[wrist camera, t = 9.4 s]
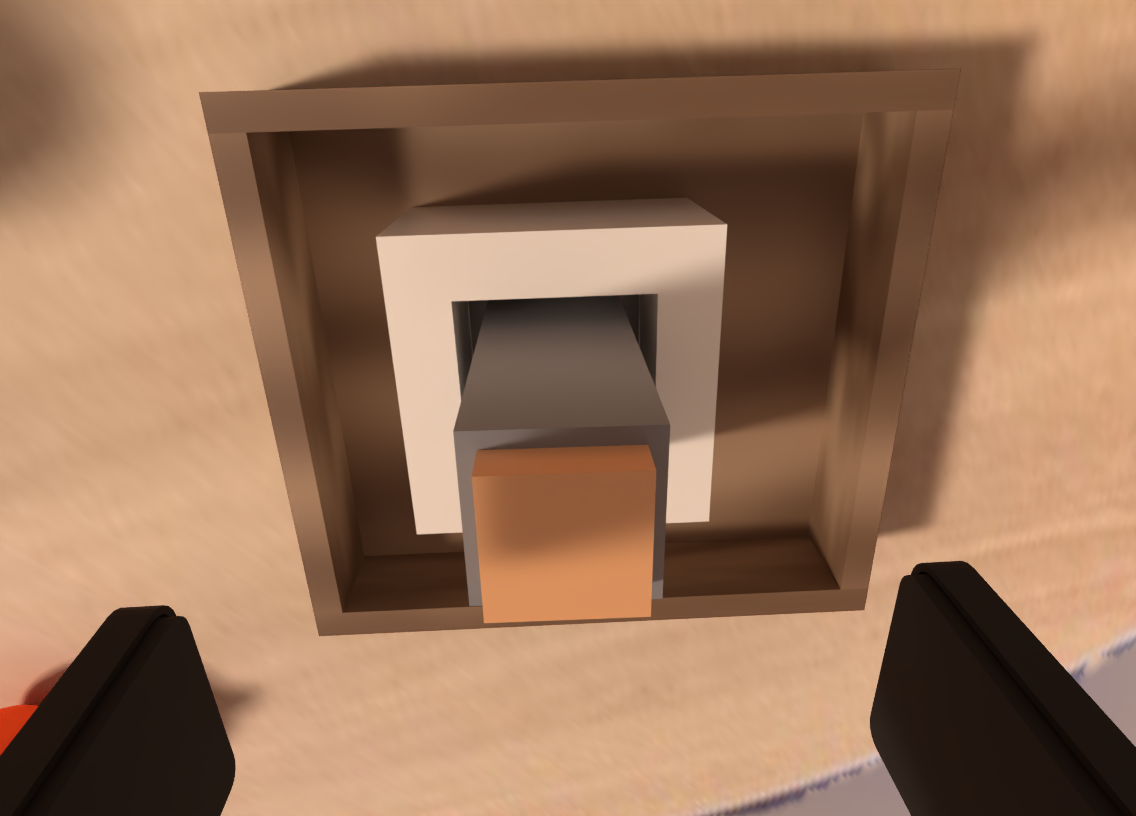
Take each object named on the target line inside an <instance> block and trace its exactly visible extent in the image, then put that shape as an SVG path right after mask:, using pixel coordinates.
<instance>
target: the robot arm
mask: <svg viewBox="0 0 1136 816" xmlns="http://www.w3.org/2000/svg"><path fill="white" fill-rule="evenodd" d="M870 729H871V734H872V738H873V741H874V744H875V746H876V748H877V750H878V752H879V754H880V756H881V758H882V760H883V762H884V764H885V766H886V768H887V770H888V772H889V774H890V775H891V777H892V779H893V781H894V783H895V785H896V787H897V789H898V791H899V793H900V795H901V797H902V799H903V801H904V803H905V804H906V806H907V808H908V810H909V812H910V814H911V816H1136V747H1135V746H1134V745H1133V744H1132V743H1131V741H1130V740H1129V739H1128V738H1127V737H1126V736H1125V735H1124V734H1123V733H1122V731H1121V730H1120V729H1119V728H1118V727H1117V726H1116V725H1115V724H1114V723H1113V722H1112V721H1111V719H1110V718H1109V717H1108V716H1107V715H1106V714H1105V713H1104V712H1103V710H1102V709H1101V708H1100V707H1099V706H1098V705H1097V704H1096V703H1095V702H1094V701H1093V699H1092V698H1091V697H1090V696H1089V695H1088V694H1087V693H1086V692H1085V691H1084V690H1083V688H1082V687H1081V686H1080V685H1079V684H1078V683H1077V682H1076V681H1075V680H1074V678H1073V677H1072V676H1071V675H1070V674H1069V673H1068V672H1067V671H1066V670H1065V668H1064V667H1063V666H1062V665H1061V664H1060V663H1059V662H1058V661H1057V660H1056V659H1055V657H1054V656H1053V655H1052V654H1051V653H1050V652H1049V651H1048V650H1047V649H1046V647H1045V646H1044V645H1043V644H1042V643H1041V642H1040V641H1039V640H1038V639H1037V638H1036V636H1035V635H1034V634H1033V633H1032V632H1031V631H1030V630H1029V629H1028V628H1027V626H1026V625H1025V624H1024V623H1023V622H1022V621H1021V620H1020V619H1019V618H1018V617H1017V615H1016V614H1015V613H1014V612H1013V611H1012V610H1011V609H1010V608H1009V607H1008V605H1007V604H1006V603H1005V602H1004V601H1003V600H1002V599H1001V598H1000V597H999V596H998V594H997V593H996V592H995V591H994V590H993V589H992V588H991V587H990V586H989V584H988V583H987V582H986V581H985V580H984V579H983V578H982V577H981V576H980V575H979V573H978V572H977V571H976V570H975V569H974V568H973V567H972V566H971V565H969V564H968V563H966V562H963V561H951V562H933V563H921V564H917V565H916V566H915V567H914V568H913V571H912V573H911V575H906V576H904V577H903V578H902V580H901V582H900V586H899V590H898V595H897V599H896V604H895V608H894V613H893V617H892V622H891V626H890V630H889V635H888V639H887V644H886V648H885V653H884V657H883V662H882V666H881V671H880V675H879V680H878V684H877V689H876V693H875V698H874V702H873V707H872V711H871V716H870ZM234 777H235V758H234V754H233V751H232V748H231V746H230V743H229V740H228V737H227V734H226V731H225V728H224V725H223V722H222V719H221V716H220V713H219V710H218V707H217V704H216V701H215V699H214V696H213V693H212V690H211V687H210V684H209V681H208V678H207V675H206V672H205V669H204V666H203V663H202V660H201V657H200V654H199V652H198V649H197V646H196V643H195V640H194V637H193V634H192V631H191V628H190V625H189V623H188V621H187V619H186V618H184V617H182V616H176V614H175V612H174V610H173V609H172V608H170V607H169V606H164V605H163V606H145V607H127V608H119V609H117V610H115V611H113V612H112V613H111V614H110V615H109V616H108V617H107V619H106V620H105V621H104V623H103V624H102V625H101V626H100V628H99V629H98V630H97V632H96V633H95V634H94V636H93V637H92V638H91V639H90V641H89V642H88V643H87V645H86V646H85V647H84V648H83V650H82V651H81V652H80V654H79V655H78V656H77V657H76V659H75V660H74V661H73V663H72V664H71V665H70V666H69V668H68V669H67V670H66V672H65V673H64V674H63V675H62V677H61V678H60V679H59V681H58V682H57V683H56V684H55V686H54V687H53V688H52V690H51V691H50V692H49V693H48V695H47V696H46V697H45V699H44V700H43V701H42V702H41V704H40V705H39V706H38V708H37V709H36V710H35V711H34V713H33V714H32V715H31V717H30V718H29V719H28V720H27V722H26V723H25V724H24V726H23V727H22V728H21V729H20V731H19V732H18V733H17V735H16V736H15V737H14V738H13V740H12V741H11V742H10V744H9V745H8V746H7V748H6V749H5V750H4V751H3V753H2V754H1V755H0V816H220V815H221V813H222V810H223V808H224V806H225V803H226V801H227V798H228V796H229V794H230V791H231V788H232V785H233V782H234Z"/></svg>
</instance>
